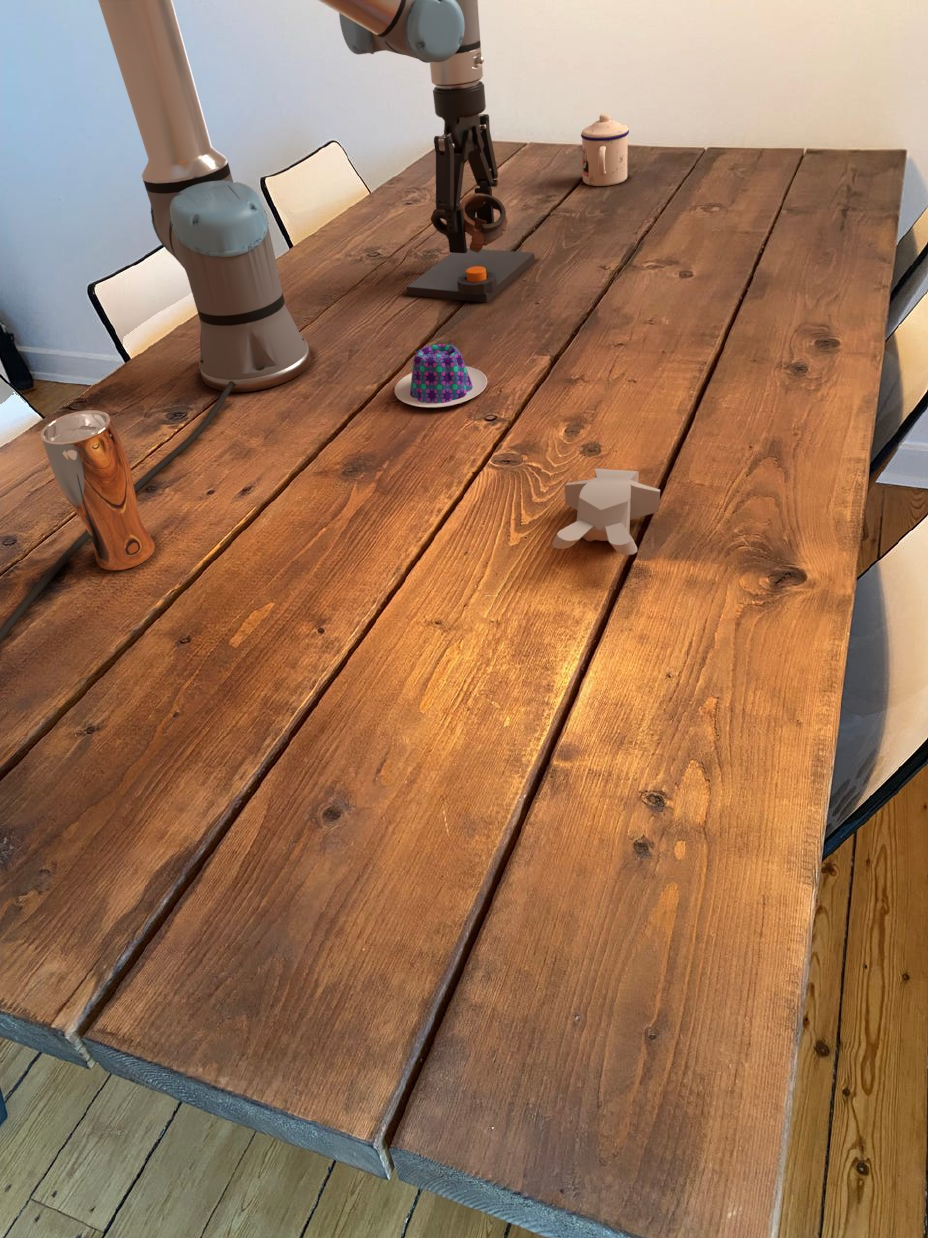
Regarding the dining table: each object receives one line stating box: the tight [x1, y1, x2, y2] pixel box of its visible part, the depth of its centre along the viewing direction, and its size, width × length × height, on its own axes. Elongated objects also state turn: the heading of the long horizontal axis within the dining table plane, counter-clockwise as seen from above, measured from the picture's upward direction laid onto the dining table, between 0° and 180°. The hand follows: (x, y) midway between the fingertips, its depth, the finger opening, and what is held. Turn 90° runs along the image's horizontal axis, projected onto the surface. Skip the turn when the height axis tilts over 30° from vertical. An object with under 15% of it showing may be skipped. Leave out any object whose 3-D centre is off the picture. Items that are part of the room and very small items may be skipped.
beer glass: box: [39, 409, 156, 572], centre depth 95 cm, size 7×7×15 cm
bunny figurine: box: [551, 468, 661, 556], centre depth 93 cm, size 10×5×15 cm
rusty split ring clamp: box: [430, 193, 508, 253], centre depth 149 cm, size 12×10×8 cm
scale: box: [406, 247, 536, 304], centre depth 151 cm, size 19×14×3 cm
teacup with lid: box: [580, 113, 630, 187], centre depth 181 cm, size 12×9×12 cm
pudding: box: [394, 343, 488, 408], centre depth 120 cm, size 12×12×5 cm
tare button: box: [466, 266, 487, 282], centre depth 143 cm, size 3×3×2 cm
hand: (472, 240), depth 151 cm, fingers closed on rusty split ring clamp, 9 cm apart
